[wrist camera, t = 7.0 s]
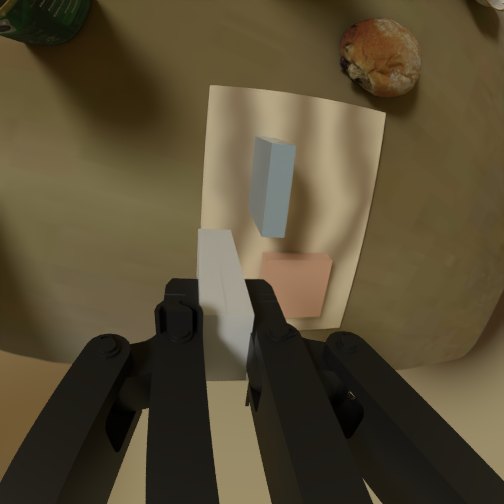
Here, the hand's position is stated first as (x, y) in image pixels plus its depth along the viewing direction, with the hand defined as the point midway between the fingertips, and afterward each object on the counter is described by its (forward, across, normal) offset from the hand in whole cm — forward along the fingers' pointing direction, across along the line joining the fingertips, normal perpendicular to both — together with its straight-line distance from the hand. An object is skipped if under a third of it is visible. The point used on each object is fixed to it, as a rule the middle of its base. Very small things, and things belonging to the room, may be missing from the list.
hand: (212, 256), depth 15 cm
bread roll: (+21, +18, +16) cm, 32 cm away
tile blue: (+19, +6, +1) cm, 20 cm away
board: (+20, +10, -5) cm, 23 cm away
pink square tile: (+18, +7, -12) cm, 23 cm away
